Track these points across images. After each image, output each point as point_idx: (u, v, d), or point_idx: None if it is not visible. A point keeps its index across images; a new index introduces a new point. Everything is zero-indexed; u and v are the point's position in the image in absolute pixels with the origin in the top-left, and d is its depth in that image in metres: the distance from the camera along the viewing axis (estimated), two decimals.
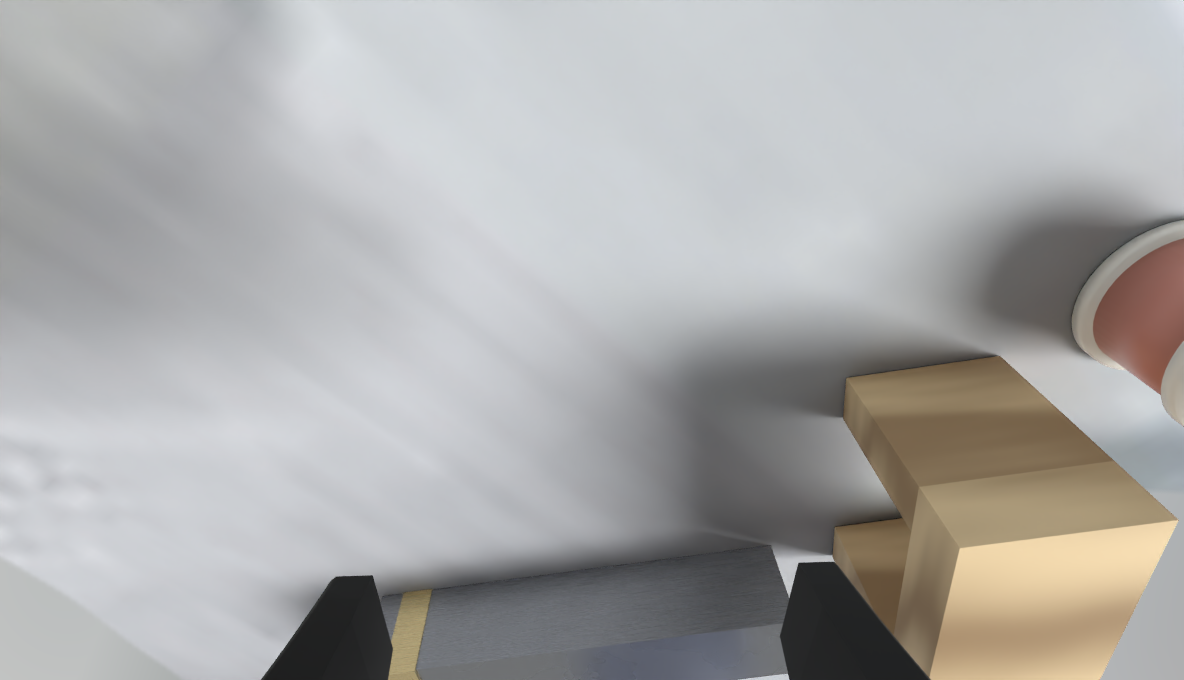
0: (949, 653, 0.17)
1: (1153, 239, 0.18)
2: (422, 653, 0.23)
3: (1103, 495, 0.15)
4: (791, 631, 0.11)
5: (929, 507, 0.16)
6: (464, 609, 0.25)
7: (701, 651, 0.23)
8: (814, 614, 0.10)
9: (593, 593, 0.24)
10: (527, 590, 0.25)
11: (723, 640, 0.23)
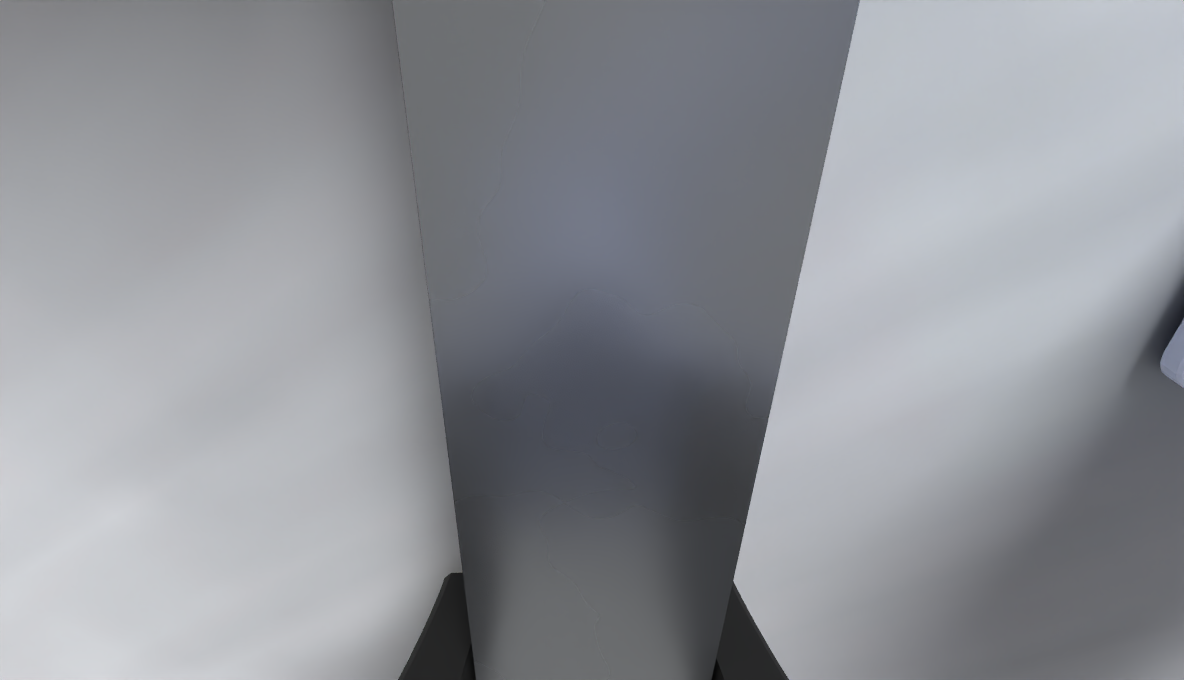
0: None
1: None
2: None
3: None
4: None
5: None
6: None
7: None
8: None
9: None
10: None
11: None
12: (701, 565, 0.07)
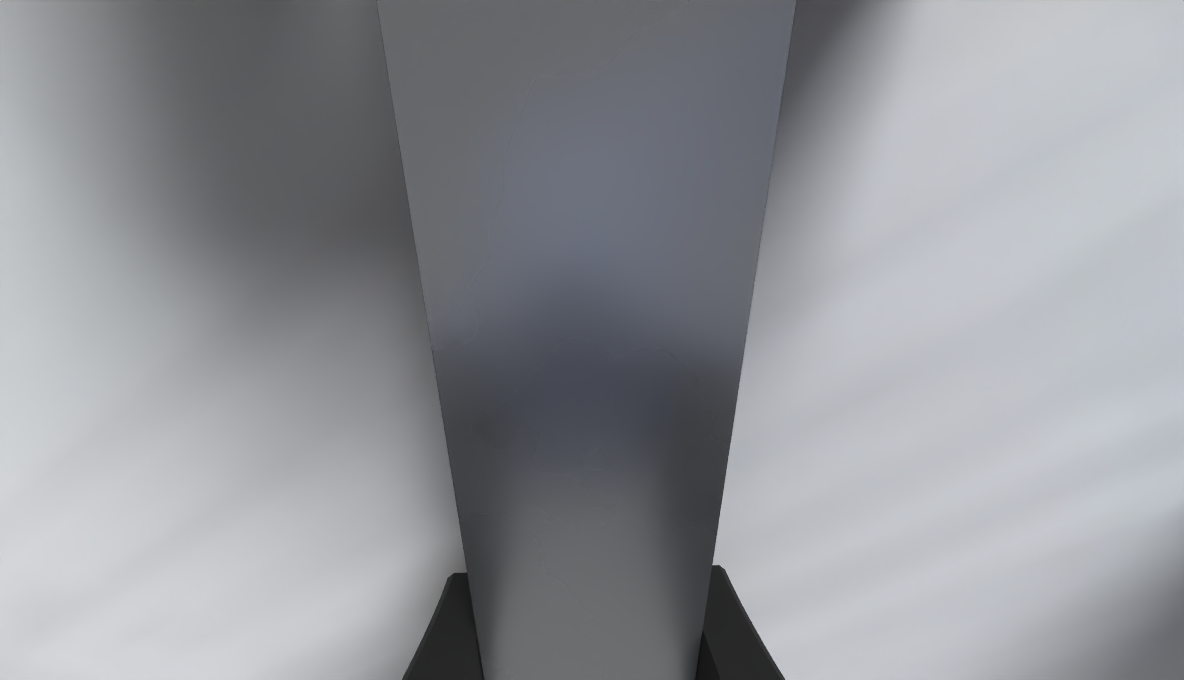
0: None
1: None
2: None
3: None
4: None
5: None
6: None
7: (524, 80, 0.05)
8: None
9: None
10: None
11: None
12: (680, 570, 0.08)
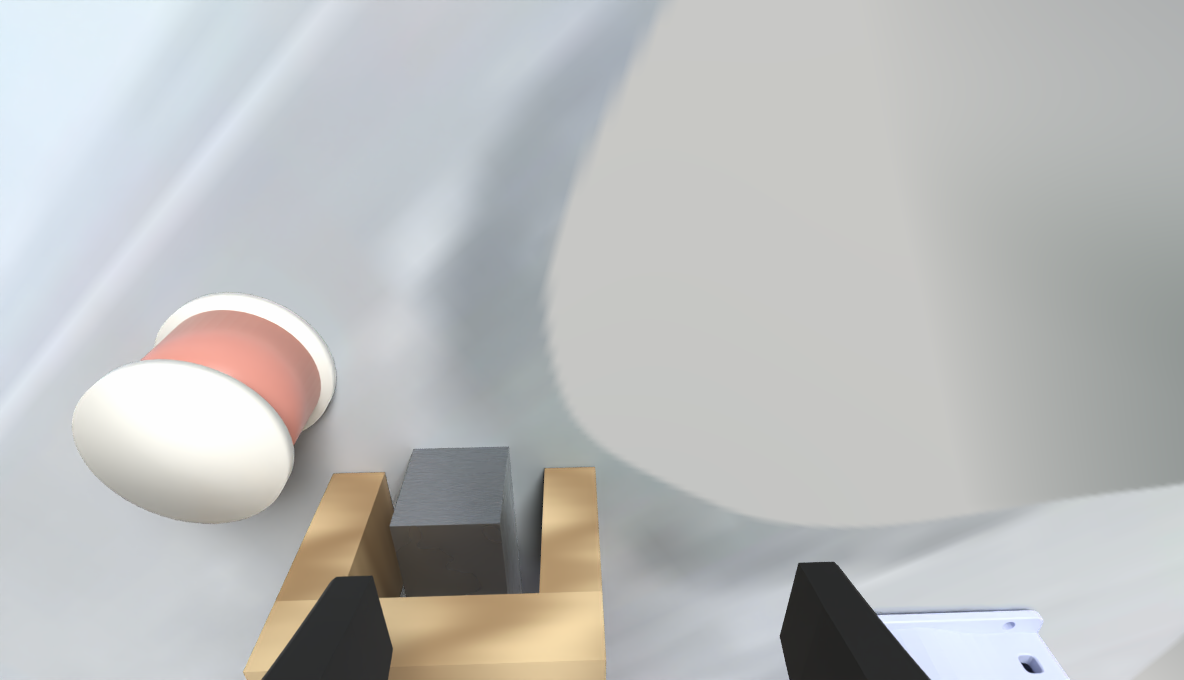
0: None
1: None
2: None
3: None
4: (791, 631, 0.11)
5: None
6: None
7: None
8: (814, 614, 0.10)
9: None
10: None
11: (421, 585, 0.20)
12: None
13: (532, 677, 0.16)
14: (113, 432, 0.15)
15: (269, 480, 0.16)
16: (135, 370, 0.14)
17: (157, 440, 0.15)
